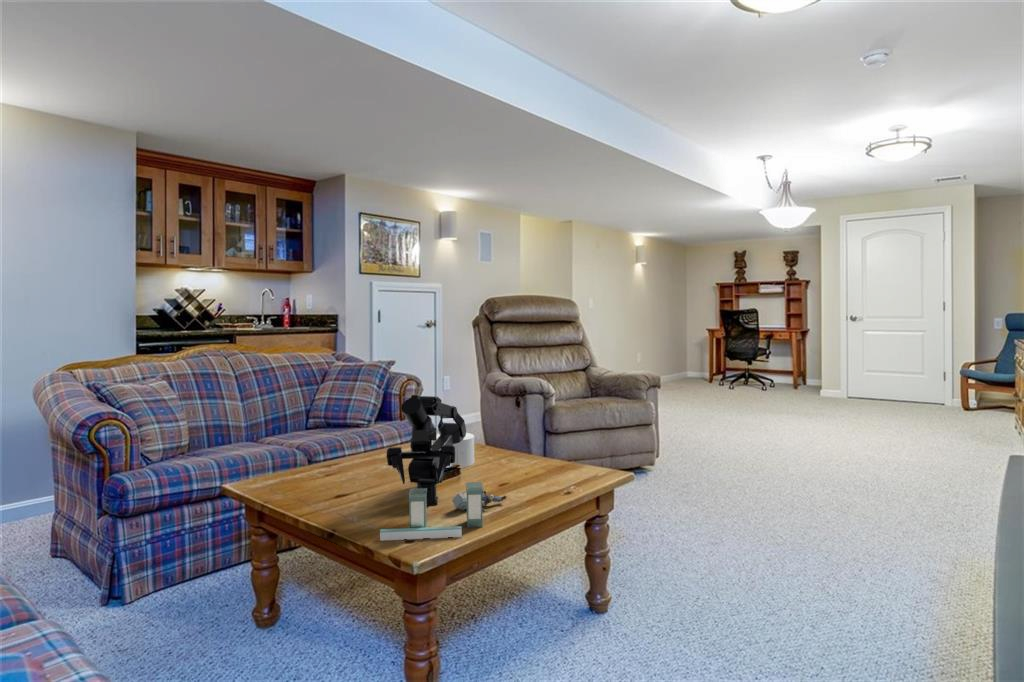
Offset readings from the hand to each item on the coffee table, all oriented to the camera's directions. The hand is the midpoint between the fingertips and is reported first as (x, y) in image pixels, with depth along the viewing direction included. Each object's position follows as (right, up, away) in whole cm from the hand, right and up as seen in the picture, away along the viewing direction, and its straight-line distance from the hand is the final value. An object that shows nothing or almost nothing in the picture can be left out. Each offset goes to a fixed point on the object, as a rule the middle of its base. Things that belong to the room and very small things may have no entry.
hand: (421, 482), depth 156 cm
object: (+3, -8, +62) cm, 63 cm away
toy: (+14, -10, +12) cm, 21 cm away
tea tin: (+1, -11, -8) cm, 13 cm away
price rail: (+2, -11, -12) cm, 16 cm away
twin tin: (+15, -10, -2) cm, 18 cm away
